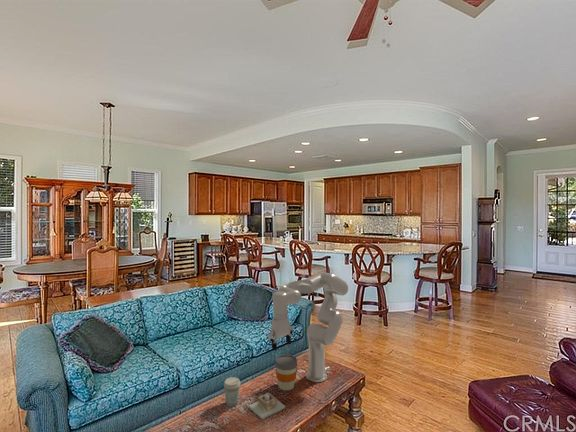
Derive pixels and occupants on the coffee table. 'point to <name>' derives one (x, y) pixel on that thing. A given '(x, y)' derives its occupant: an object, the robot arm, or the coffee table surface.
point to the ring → (269, 404)
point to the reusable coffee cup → (286, 371)
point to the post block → (263, 414)
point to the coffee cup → (232, 391)
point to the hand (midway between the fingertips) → (281, 346)
